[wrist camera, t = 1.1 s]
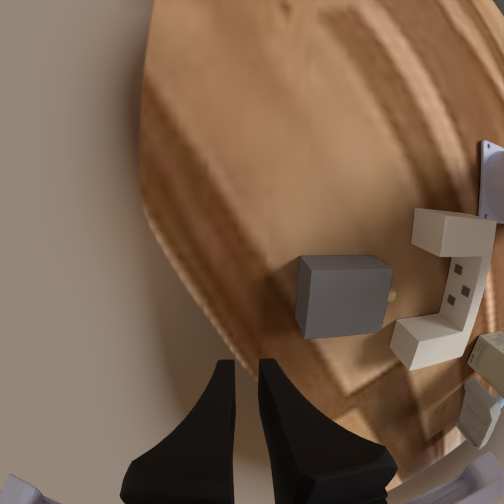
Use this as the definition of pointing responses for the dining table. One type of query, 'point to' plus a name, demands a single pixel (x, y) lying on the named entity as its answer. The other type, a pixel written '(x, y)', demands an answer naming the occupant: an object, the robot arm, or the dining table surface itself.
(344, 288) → the plug
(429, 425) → the dining table surface
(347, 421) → the dining table surface
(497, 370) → the skincare box
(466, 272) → the socket block
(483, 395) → the light switch
